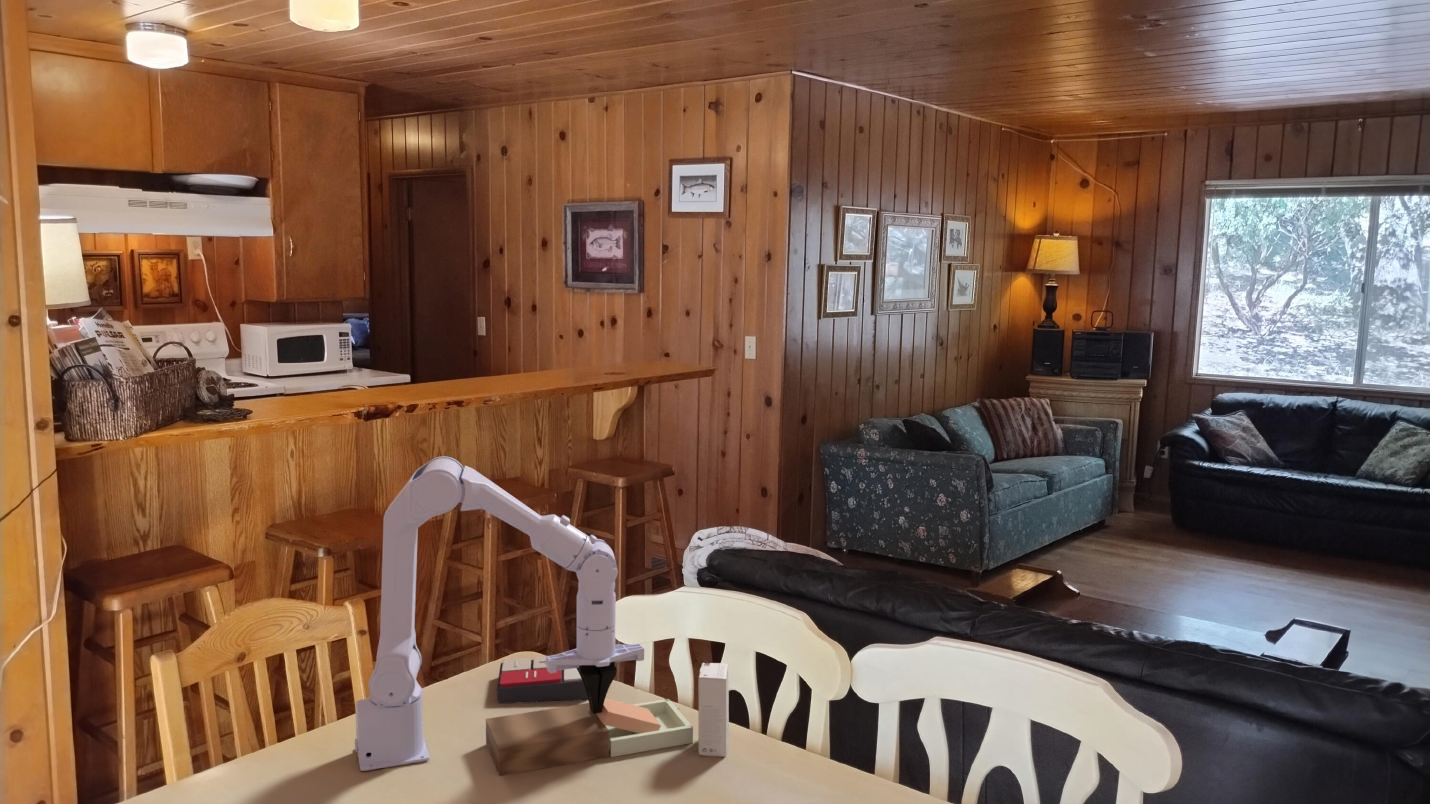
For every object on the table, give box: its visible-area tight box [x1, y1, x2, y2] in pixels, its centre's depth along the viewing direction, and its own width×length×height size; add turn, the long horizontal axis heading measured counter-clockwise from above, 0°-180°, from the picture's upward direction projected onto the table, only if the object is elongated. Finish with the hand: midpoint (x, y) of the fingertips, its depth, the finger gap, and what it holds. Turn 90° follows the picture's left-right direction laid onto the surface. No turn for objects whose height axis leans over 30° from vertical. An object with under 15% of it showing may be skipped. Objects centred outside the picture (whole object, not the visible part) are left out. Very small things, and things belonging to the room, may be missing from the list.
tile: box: [597, 697, 661, 733], centre depth 160 cm, size 9×6×2 cm, turn 113°
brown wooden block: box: [485, 702, 610, 776], centre depth 155 cm, size 16×10×4 cm, turn 113°
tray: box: [605, 698, 694, 758], centre depth 161 cm, size 13×11×2 cm
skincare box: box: [697, 662, 730, 757], centre depth 157 cm, size 6×4×12 cm
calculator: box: [496, 655, 589, 704], centre depth 177 cm, size 11×4×15 cm
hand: (595, 710), depth 157 cm, fingers closed
